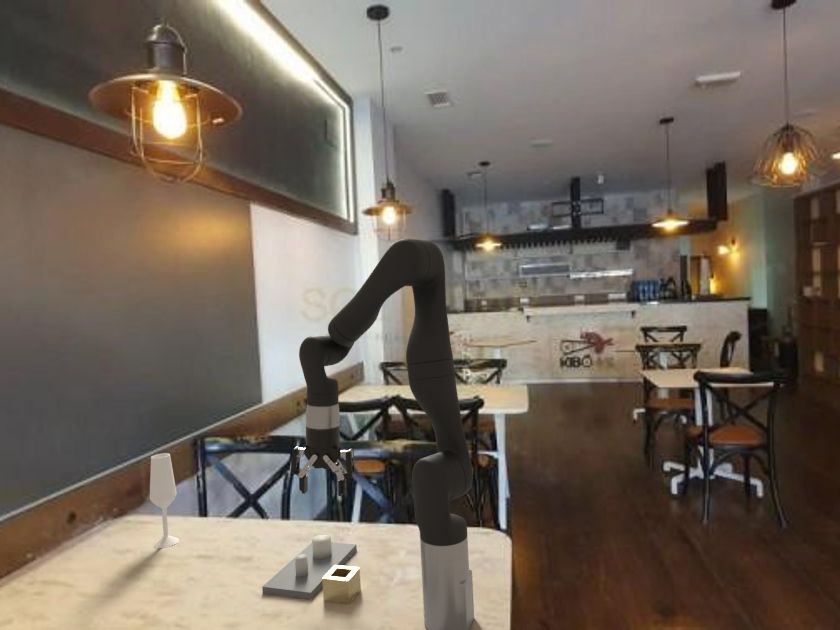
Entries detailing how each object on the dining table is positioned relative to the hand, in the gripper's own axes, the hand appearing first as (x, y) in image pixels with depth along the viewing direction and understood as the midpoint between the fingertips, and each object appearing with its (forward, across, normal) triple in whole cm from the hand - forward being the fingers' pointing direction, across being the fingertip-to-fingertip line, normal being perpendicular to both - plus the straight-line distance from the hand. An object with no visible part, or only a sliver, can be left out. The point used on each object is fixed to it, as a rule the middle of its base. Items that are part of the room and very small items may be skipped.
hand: (322, 493), depth 130 cm
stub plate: (+21, -4, +5) cm, 21 cm away
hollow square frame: (+20, +6, -6) cm, 22 cm away
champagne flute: (+24, -50, +18) cm, 59 cm away
